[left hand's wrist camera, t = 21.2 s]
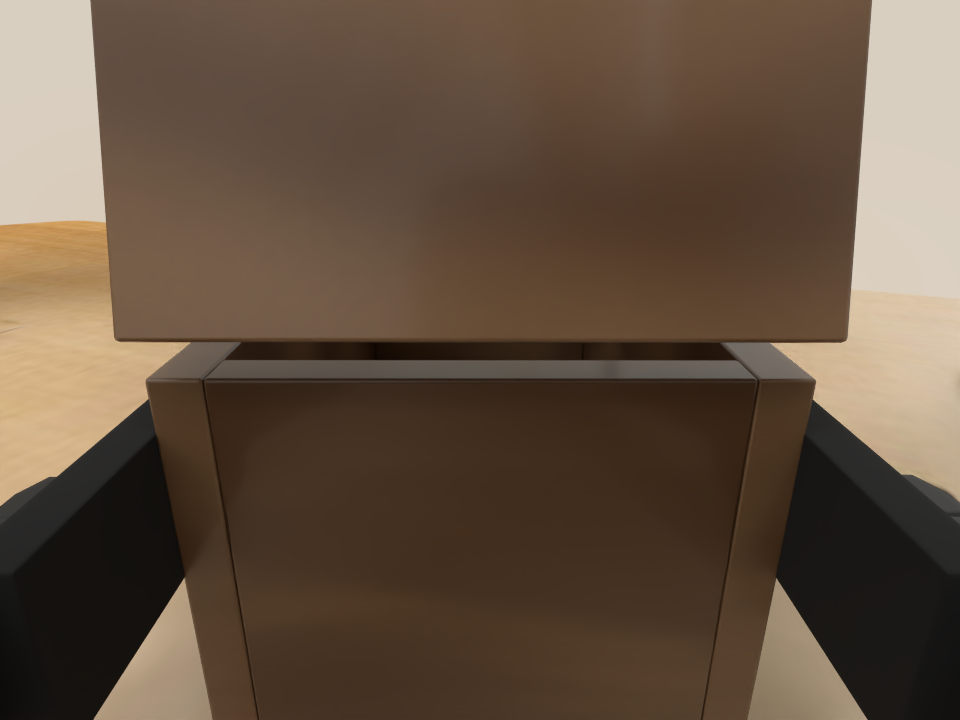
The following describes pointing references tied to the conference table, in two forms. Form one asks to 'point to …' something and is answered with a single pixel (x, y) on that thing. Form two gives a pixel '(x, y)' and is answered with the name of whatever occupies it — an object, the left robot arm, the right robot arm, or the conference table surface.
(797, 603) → the left robot arm
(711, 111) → the lid
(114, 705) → the conference table surface
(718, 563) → the chest
